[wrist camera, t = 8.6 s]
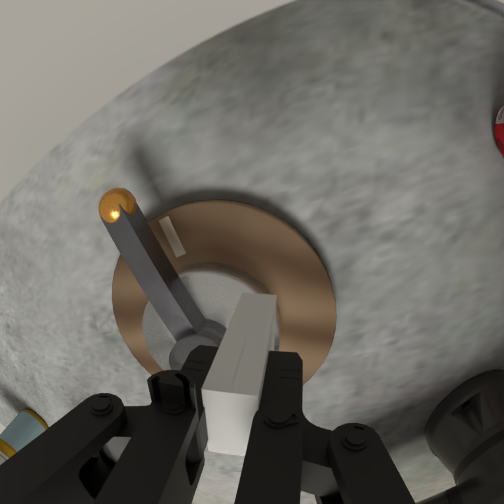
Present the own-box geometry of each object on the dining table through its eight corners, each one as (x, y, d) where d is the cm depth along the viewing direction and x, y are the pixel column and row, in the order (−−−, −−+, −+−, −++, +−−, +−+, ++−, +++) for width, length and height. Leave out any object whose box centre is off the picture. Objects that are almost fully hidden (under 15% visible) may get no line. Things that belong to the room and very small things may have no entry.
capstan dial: (302, 351, 29) (303, 398, 23) (197, 386, 32) (179, 430, 26) (190, 147, 25) (157, 147, 19) (88, 217, 28) (44, 234, 21)
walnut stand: (319, 401, 34) (319, 414, 32) (137, 380, 36) (130, 390, 34) (345, 205, 27) (349, 209, 25) (111, 199, 29) (100, 202, 27)
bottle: (40, 411, 43) (-3, 463, 29) (56, 437, 45) (19, 488, 31) (18, 404, 44) (-24, 449, 30) (33, 429, 46) (-3, 474, 32)
